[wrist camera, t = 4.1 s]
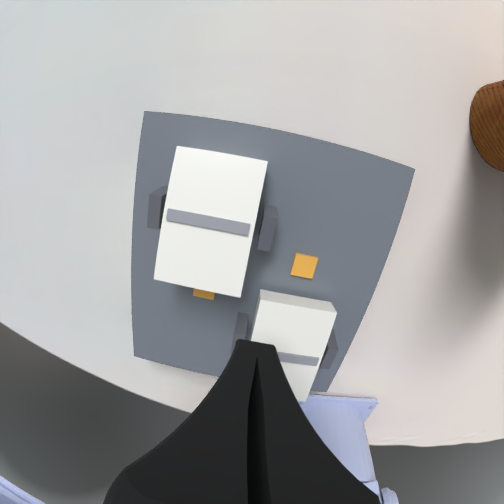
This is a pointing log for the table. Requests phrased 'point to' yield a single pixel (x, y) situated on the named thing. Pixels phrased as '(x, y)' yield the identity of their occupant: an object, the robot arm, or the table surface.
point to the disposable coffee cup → (489, 123)
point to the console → (265, 239)
